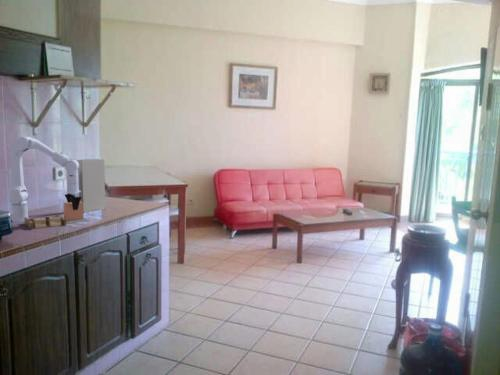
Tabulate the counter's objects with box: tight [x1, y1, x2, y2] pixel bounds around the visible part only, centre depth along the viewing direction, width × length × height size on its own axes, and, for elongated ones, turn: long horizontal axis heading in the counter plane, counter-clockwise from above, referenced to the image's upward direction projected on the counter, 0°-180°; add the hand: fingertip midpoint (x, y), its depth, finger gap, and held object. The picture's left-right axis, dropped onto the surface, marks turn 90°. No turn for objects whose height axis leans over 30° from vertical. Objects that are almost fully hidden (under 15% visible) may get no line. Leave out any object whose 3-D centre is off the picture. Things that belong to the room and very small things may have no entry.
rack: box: [24, 213, 67, 230], centre depth 228 cm, size 15×16×4 cm
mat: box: [66, 216, 90, 225], centre depth 240 cm, size 14×12×1 cm
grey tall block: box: [76, 158, 106, 213], centre depth 265 cm, size 14×6×30 cm, turn 141°
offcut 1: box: [32, 217, 46, 229], centre depth 222 cm, size 3×5×4 cm, turn 127°
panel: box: [63, 202, 84, 221], centre depth 239 cm, size 3×9×9 cm, turn 127°
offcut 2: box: [48, 216, 62, 227], centre depth 226 cm, size 3×5×4 cm, turn 128°
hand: (73, 208), depth 239 cm, fingers open, 7 cm apart
